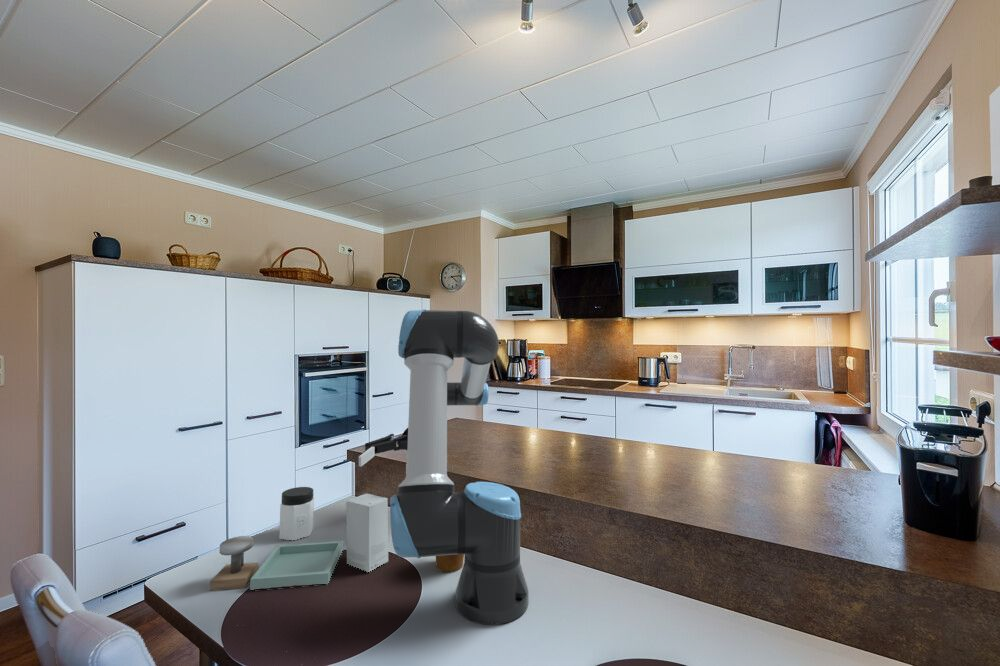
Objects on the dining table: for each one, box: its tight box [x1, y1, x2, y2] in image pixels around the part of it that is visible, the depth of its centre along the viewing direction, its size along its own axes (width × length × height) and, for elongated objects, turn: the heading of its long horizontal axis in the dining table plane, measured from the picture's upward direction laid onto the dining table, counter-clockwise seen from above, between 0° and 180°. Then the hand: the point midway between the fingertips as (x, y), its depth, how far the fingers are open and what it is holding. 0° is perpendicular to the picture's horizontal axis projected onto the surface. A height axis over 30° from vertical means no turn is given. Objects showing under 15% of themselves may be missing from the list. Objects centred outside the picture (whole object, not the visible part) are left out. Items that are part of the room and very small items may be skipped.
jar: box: [278, 486, 315, 542], centre depth 116 cm, size 9×8×12 cm
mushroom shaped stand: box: [209, 535, 260, 591], centre depth 93 cm, size 7×7×8 cm
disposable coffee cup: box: [435, 554, 465, 573], centre depth 100 cm, size 10×10×12 cm
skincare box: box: [345, 493, 389, 573], centre depth 101 cm, size 8×7×16 cm
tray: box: [249, 540, 344, 591], centre depth 98 cm, size 16×16×2 cm
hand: (383, 465), depth 106 cm, fingers open, 13 cm apart
